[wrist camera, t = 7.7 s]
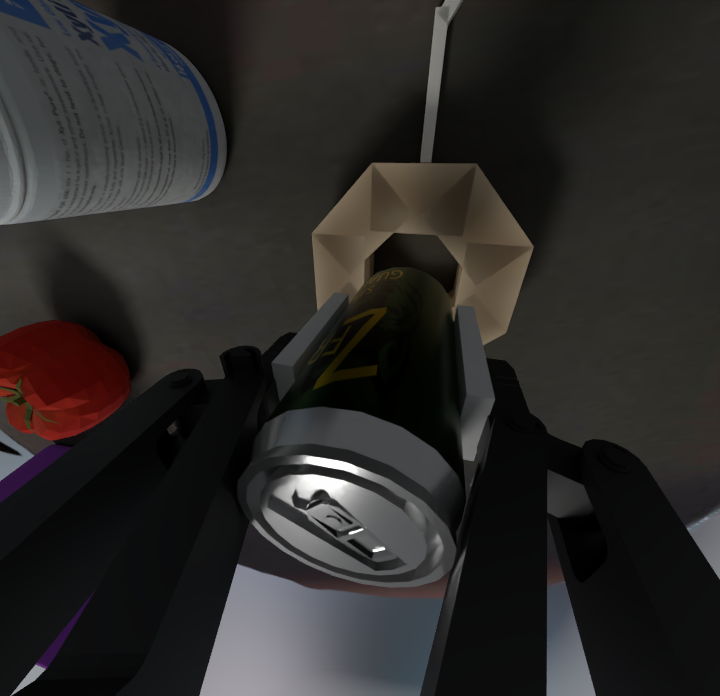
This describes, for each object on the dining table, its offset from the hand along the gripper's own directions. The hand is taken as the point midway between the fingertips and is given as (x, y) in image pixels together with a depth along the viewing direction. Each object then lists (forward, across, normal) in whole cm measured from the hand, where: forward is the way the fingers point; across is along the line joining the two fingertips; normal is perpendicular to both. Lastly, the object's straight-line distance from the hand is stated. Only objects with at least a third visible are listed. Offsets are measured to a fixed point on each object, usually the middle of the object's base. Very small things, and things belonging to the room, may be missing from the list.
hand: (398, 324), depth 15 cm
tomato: (+10, -40, -15) cm, 44 cm away
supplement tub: (+10, -19, +9) cm, 23 cm away
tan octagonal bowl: (+10, 0, 0) cm, 10 cm away
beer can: (+2, 0, 0) cm, 2 cm away
